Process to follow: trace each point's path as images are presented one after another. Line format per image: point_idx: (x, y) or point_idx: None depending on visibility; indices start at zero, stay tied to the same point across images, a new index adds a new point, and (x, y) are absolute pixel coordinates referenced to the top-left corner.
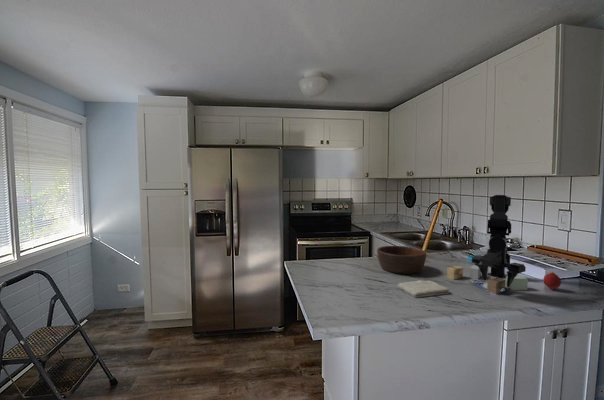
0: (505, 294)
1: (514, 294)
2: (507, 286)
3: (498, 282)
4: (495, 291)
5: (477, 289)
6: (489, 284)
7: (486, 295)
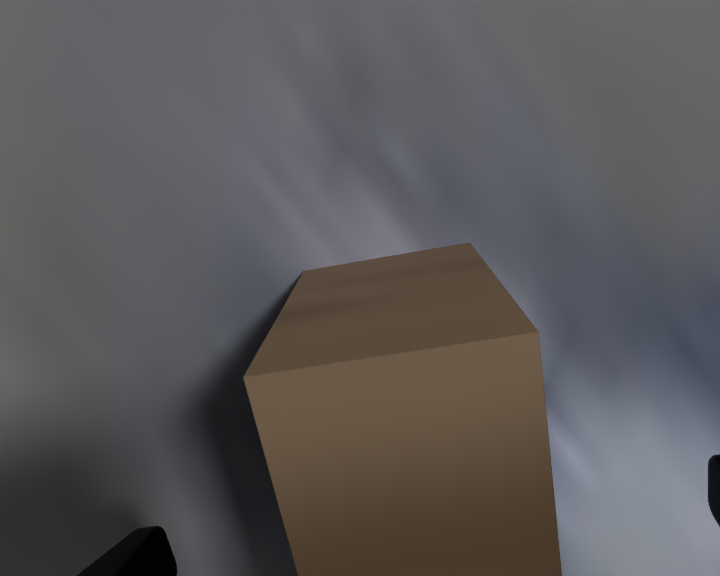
0: (251, 421)
1: (217, 544)
2: (147, 531)
3: (281, 484)
4: (305, 286)
5: (638, 157)
6: (444, 299)
7: (301, 10)
